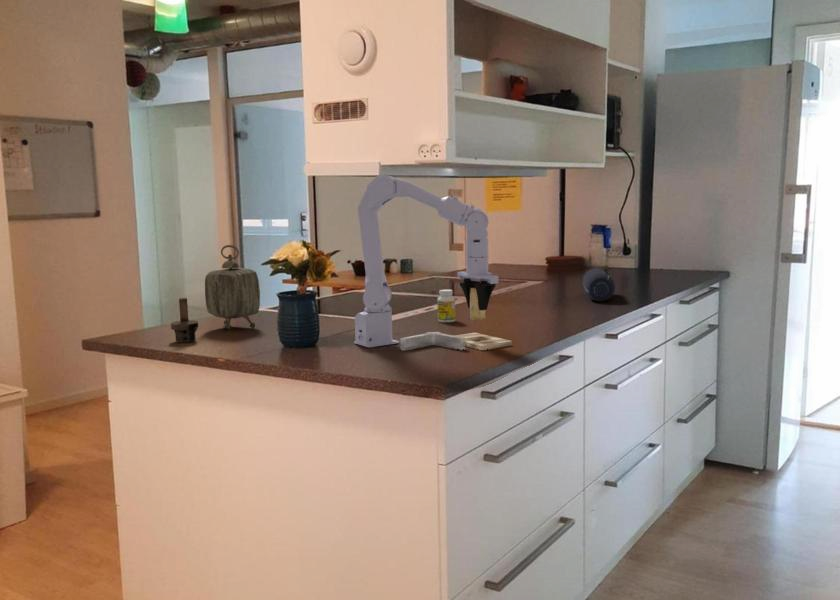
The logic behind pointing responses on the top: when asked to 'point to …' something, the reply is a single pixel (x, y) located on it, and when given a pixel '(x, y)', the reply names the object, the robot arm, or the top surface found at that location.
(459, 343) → the grey angled bracket
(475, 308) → the brass axle
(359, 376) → the top surface
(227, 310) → the tabletop clock
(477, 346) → the beige plate with hole
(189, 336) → the industrial component
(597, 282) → the portable speaker
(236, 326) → the top surface
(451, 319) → the supplement bottle
